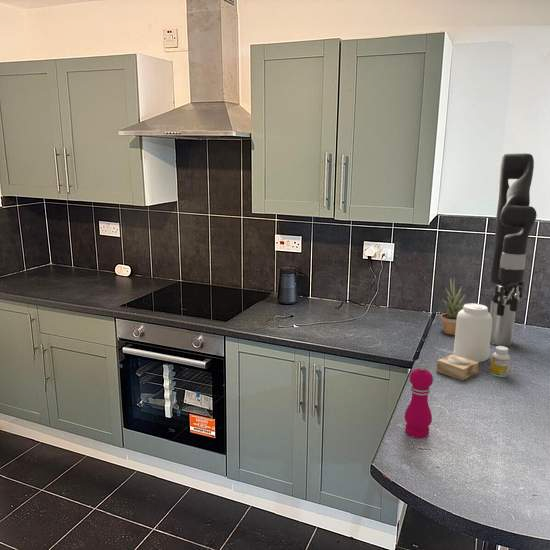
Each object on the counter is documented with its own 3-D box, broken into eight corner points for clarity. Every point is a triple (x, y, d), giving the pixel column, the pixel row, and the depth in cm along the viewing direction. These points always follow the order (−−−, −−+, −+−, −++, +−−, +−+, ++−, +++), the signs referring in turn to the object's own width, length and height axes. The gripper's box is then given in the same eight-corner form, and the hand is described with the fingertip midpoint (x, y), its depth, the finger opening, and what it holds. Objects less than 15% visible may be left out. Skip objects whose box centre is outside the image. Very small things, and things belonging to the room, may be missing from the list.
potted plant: (439, 327, 228) (443, 273, 223) (461, 329, 226) (467, 274, 220) (439, 335, 219) (444, 278, 213) (463, 337, 216) (469, 280, 211)
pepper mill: (398, 432, 142) (403, 363, 138) (412, 422, 147) (417, 356, 143) (421, 442, 137) (427, 372, 133) (435, 432, 142) (441, 364, 138)
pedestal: (452, 364, 189) (453, 353, 188) (477, 373, 181) (479, 361, 180) (436, 370, 183) (437, 359, 182) (462, 380, 175) (463, 368, 174)
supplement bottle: (493, 369, 184) (496, 343, 182) (509, 373, 181) (512, 347, 179) (488, 374, 180) (491, 348, 178) (504, 378, 177) (507, 352, 175)
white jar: (494, 357, 196) (500, 306, 191) (477, 365, 188) (483, 312, 183) (463, 347, 205) (468, 299, 200) (446, 355, 197) (451, 305, 192)
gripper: (512, 262, 179) (506, 307, 182) (490, 266, 170) (485, 314, 174) (533, 265, 173) (528, 312, 177) (512, 271, 165) (506, 319, 168)
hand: (506, 313), depth 175 cm, fingers open, 8 cm apart
